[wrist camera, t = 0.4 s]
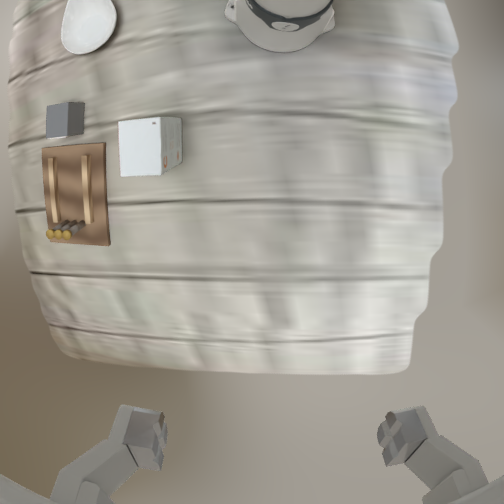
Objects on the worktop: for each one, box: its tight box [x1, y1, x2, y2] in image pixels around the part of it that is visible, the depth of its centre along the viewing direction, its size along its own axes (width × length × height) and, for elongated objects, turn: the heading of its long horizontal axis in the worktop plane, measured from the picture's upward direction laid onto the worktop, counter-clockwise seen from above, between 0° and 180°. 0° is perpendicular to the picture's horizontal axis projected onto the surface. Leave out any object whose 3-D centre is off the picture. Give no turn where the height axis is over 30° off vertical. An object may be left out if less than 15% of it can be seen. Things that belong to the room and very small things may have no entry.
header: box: [42, 143, 110, 246], centre depth 48 cm, size 20×15×8 cm
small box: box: [118, 117, 182, 177], centre depth 43 cm, size 8×6×13 cm
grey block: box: [46, 102, 85, 139], centre depth 43 cm, size 6×5×6 cm
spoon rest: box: [61, 0, 117, 54], centre depth 33 cm, size 24×12×7 cm, turn 7°
